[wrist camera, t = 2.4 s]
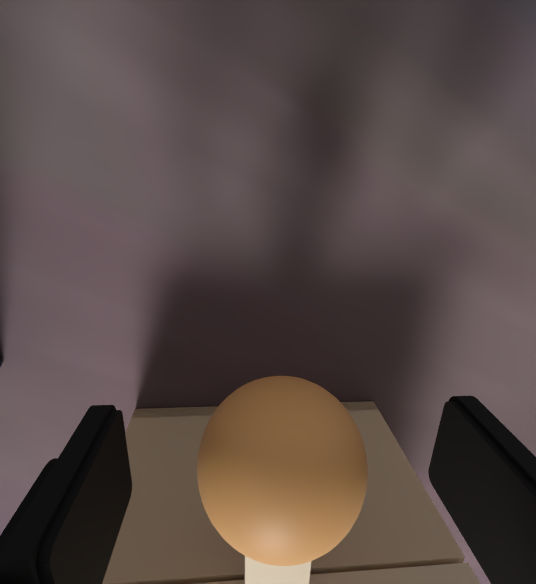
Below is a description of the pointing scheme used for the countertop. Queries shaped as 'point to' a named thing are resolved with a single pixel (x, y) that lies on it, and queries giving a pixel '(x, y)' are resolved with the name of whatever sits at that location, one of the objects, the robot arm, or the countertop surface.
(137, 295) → the countertop surface
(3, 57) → the countertop surface
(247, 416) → the carton lid
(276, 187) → the countertop surface
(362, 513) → the carton
